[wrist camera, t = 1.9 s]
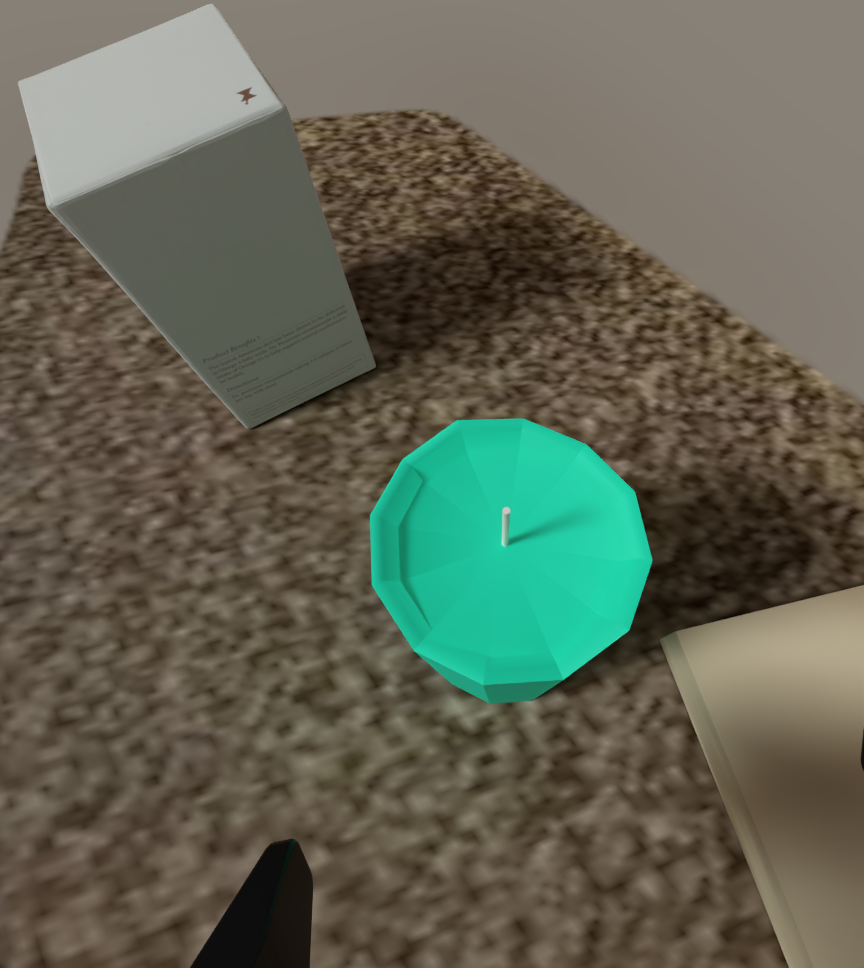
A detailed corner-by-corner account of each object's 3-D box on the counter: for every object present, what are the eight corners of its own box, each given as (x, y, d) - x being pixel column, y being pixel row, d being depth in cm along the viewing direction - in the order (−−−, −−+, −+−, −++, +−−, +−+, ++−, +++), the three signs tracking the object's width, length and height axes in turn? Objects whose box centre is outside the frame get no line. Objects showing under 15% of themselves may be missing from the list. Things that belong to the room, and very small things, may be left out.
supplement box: (327, 276, 29) (219, -7, 18) (380, 371, 26) (290, 101, 15) (203, 332, 29) (10, 74, 17) (243, 435, 26) (39, 204, 14)
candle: (406, 577, 22) (317, 434, 11) (542, 528, 22) (585, 339, 11) (455, 729, 19) (401, 737, 8) (608, 672, 20) (746, 607, 9)
